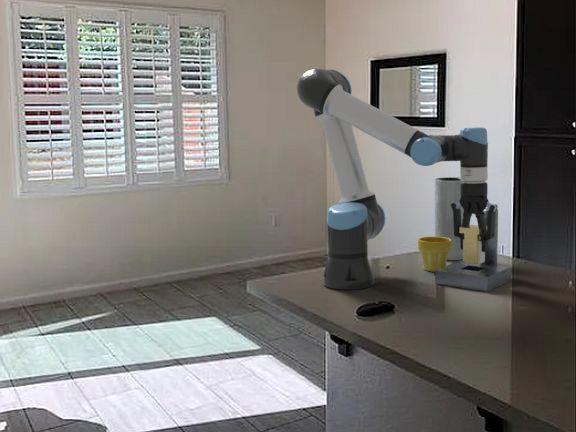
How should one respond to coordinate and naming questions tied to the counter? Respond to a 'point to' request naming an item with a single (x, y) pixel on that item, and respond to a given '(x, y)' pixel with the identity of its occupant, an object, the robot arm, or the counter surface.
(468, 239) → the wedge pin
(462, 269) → the gray post stand
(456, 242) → the vase
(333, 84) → the robot arm
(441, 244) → the plant pot
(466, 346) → the counter surface
